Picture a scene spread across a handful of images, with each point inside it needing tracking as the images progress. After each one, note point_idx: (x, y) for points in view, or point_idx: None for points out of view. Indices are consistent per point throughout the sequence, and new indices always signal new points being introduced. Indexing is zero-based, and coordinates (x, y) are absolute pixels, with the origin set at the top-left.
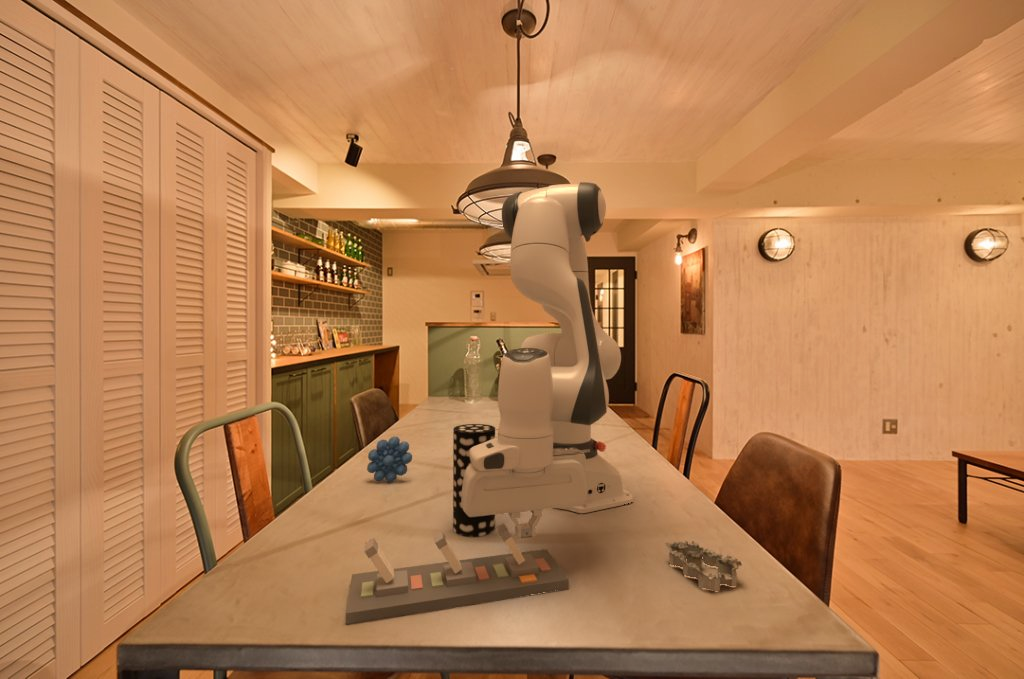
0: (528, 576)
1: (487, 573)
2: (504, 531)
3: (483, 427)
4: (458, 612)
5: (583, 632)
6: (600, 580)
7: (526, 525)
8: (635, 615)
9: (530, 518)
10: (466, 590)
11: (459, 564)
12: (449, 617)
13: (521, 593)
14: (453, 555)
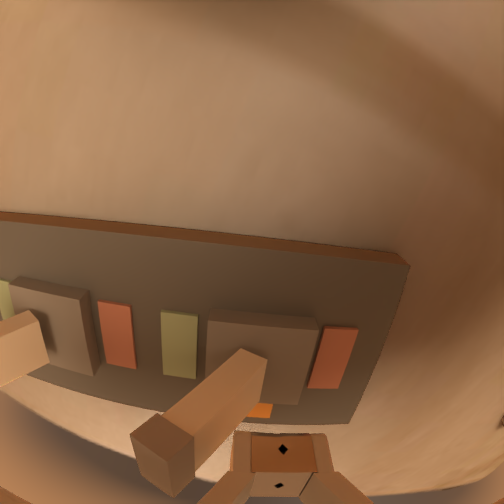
0: None
1: (133, 349)
2: (158, 484)
3: None
4: None
5: None
6: (426, 389)
7: (285, 486)
8: (384, 463)
9: (327, 490)
10: (78, 380)
11: (36, 367)
12: (61, 388)
13: None
14: (7, 383)
